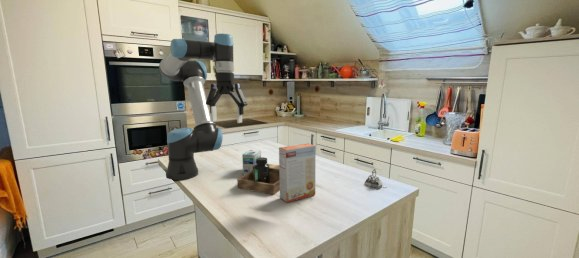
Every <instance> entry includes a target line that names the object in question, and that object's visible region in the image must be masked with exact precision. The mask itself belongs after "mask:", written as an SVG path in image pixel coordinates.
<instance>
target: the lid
mask: <svg viewBox="0 0 579 258" xmlns="http://www.w3.org/2000/svg"><path fill="white" fill-rule="evenodd" d="M267 164H268V165H269V166H270V174H272V175H279V164H273V163H267ZM251 172H254V166H253V169H252V170H251Z"/></svg>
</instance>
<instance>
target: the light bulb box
mask: <svg viewBox="0 0 579 258" xmlns="http://www.w3.org/2000/svg"><path fill="white" fill-rule="evenodd" d="M241 155H242V175H243V176H245V175H246V174H248V173H250V172H251V170H252V169H253V166H255V165H256V164H257V163H256V159H257V158H260V157H262V150H261V149H260V150H259V149H249V150H247V151H245V152H244V153H242V154H241Z"/></svg>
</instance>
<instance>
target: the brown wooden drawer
mask: <svg viewBox="0 0 579 258" xmlns="http://www.w3.org/2000/svg"><path fill="white" fill-rule="evenodd" d="M236 180H237V181H236V182H237V183H236V185H237V189H242V190H245V191H251V192H257V193H263V194H269V195H276V194H277V193H278V192H280V177H279V175H272V174H270V184H268V183H262V182H256V181H254V172H250V173H248V174H246V175H243V176H241V177H239V178H237V179H236Z"/></svg>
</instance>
